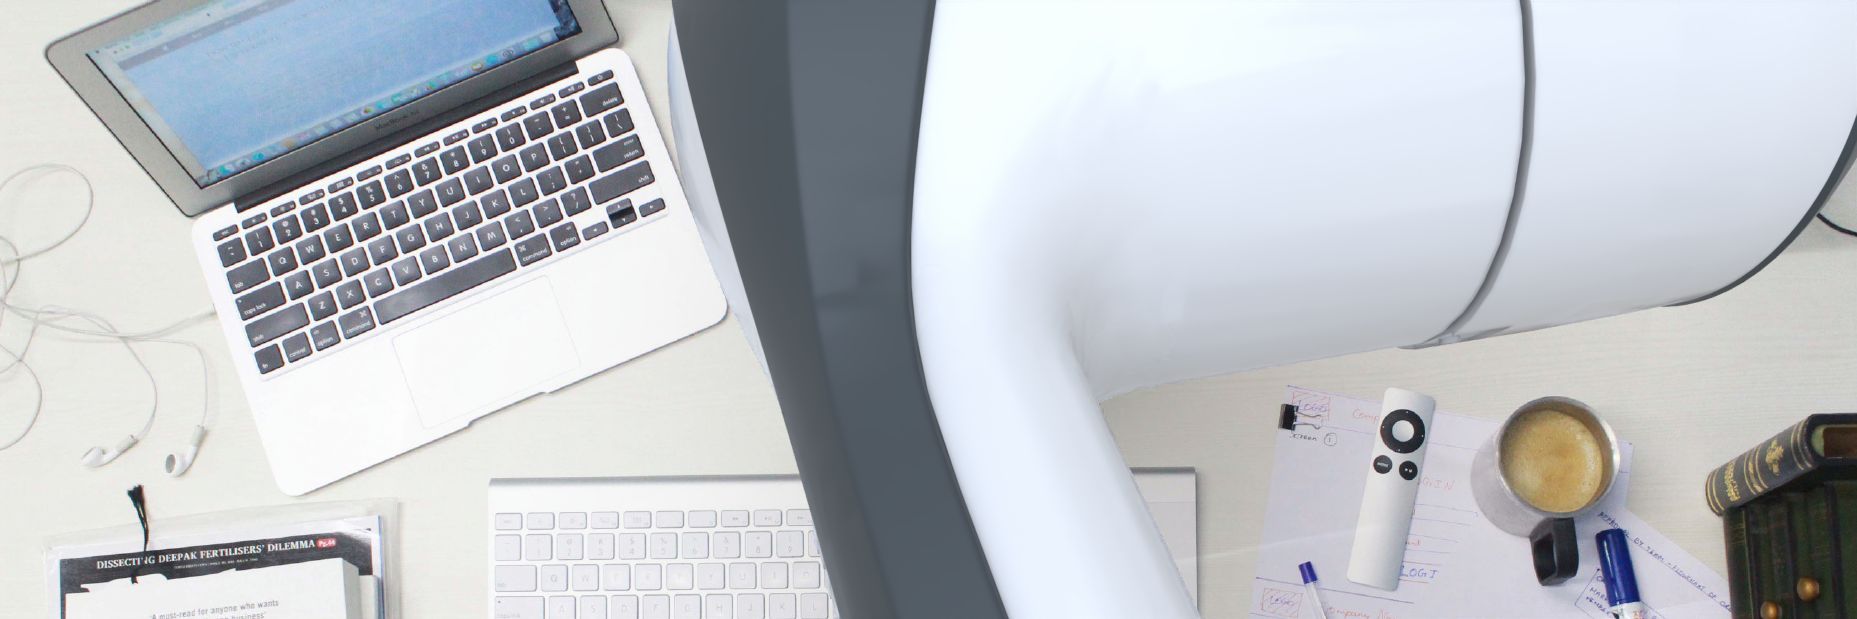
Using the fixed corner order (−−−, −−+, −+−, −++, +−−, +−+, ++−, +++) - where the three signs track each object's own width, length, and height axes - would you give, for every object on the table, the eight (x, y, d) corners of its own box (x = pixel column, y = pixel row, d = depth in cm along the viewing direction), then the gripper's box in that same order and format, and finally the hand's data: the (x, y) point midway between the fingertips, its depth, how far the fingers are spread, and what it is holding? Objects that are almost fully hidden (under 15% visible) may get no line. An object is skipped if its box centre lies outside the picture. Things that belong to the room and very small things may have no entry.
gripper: (1355, -436, 29) (1225, -133, 43) (868, 82, 27) (894, 232, 40) (1543, -311, 29) (1350, -41, 42) (1062, 240, 26) (1021, 339, 39)
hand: (1125, 95), depth 41 cm, fingers open, 8 cm apart
